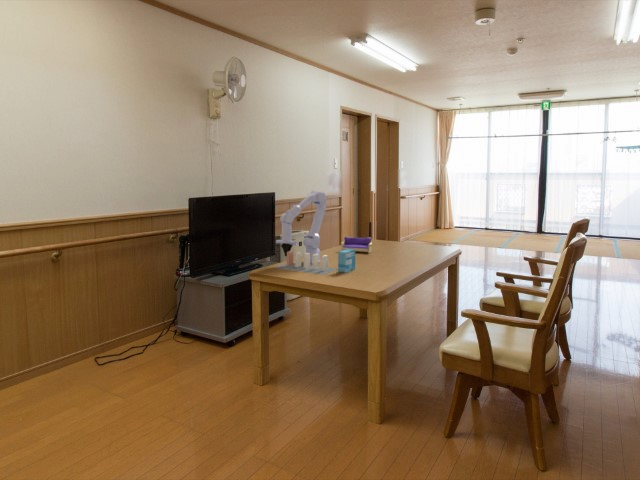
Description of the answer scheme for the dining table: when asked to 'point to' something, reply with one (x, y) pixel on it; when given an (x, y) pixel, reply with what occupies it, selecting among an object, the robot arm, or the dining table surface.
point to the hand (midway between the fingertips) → (286, 256)
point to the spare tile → (290, 258)
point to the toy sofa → (357, 244)
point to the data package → (346, 260)
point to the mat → (302, 269)
